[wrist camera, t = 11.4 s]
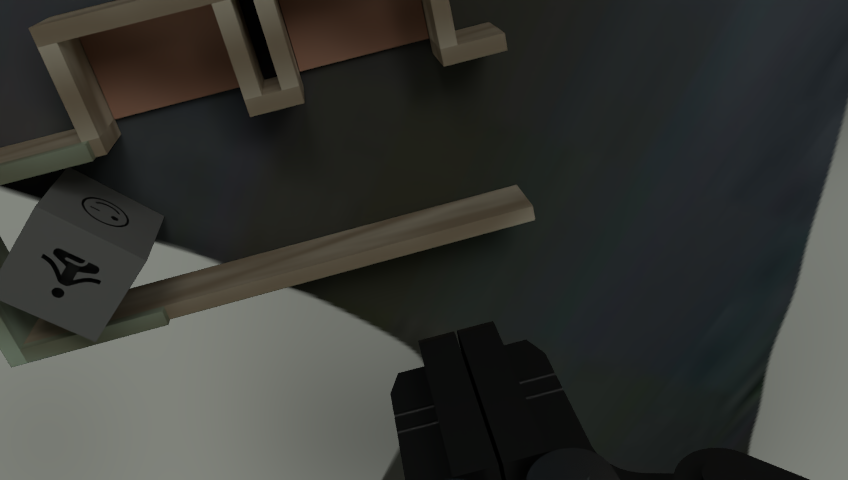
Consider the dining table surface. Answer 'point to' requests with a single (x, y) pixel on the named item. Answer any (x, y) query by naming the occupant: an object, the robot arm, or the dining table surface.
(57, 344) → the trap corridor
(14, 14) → the dining table surface
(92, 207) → the dice cube
